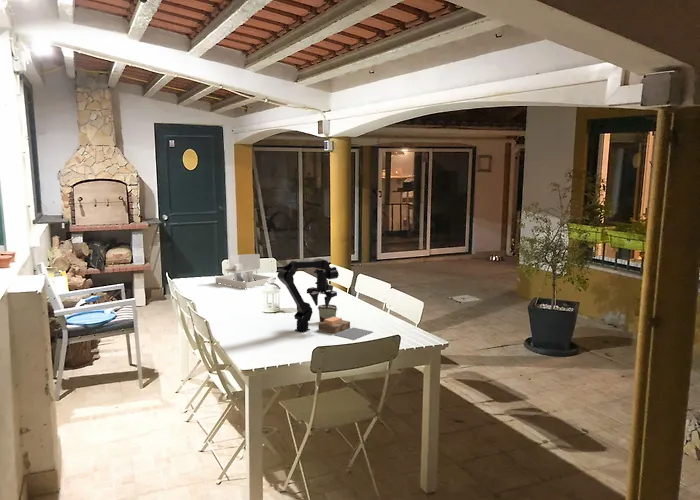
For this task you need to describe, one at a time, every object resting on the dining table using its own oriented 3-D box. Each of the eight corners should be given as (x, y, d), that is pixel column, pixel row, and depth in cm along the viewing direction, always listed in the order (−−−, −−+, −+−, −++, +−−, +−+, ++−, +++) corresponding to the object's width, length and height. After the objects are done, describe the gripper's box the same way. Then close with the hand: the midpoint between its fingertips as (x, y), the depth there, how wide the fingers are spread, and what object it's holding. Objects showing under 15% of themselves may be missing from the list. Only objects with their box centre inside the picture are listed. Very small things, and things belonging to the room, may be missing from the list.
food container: (340, 321, 339) (340, 305, 338) (336, 323, 333) (336, 307, 332) (321, 319, 343) (321, 303, 341) (317, 322, 337) (317, 305, 335)
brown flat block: (335, 334, 312) (335, 327, 312) (318, 330, 320) (318, 323, 319) (350, 328, 323) (350, 321, 323) (333, 324, 331) (333, 318, 330)
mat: (354, 339, 302) (354, 339, 302) (334, 335, 310) (334, 334, 310) (373, 332, 316) (373, 331, 316) (353, 327, 324) (353, 327, 324)
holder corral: (246, 289, 427) (246, 283, 426) (215, 283, 448) (215, 277, 447) (273, 283, 449) (273, 277, 449) (242, 278, 471) (242, 272, 470)
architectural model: (235, 288, 432) (235, 258, 428) (222, 284, 448) (221, 255, 444) (266, 283, 450) (266, 255, 447) (252, 279, 466) (252, 252, 462)
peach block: (332, 324, 316) (332, 321, 316) (324, 323, 320) (324, 319, 319) (341, 321, 323) (341, 318, 323) (333, 319, 327) (333, 316, 327)
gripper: (342, 280, 324) (342, 306, 326) (318, 276, 335) (318, 301, 337) (330, 283, 315) (330, 310, 318) (306, 279, 326) (306, 305, 329)
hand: (321, 306), depth 326 cm, fingers open, 7 cm apart
